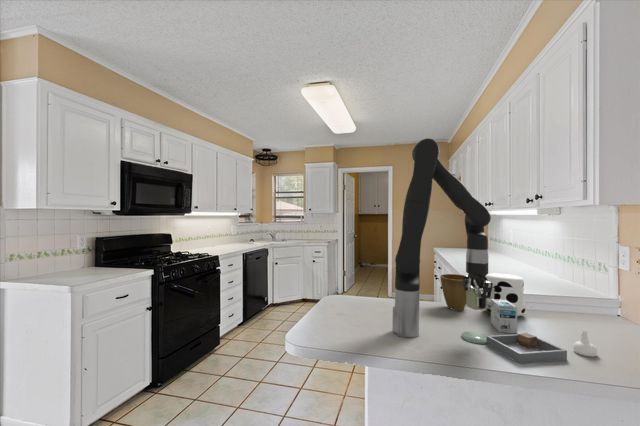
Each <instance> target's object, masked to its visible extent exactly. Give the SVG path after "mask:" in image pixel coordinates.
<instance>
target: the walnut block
mask: <svg viewBox="0 0 640 426" xmlns="http://www.w3.org/2000/svg"><path fill="white" fill-rule="evenodd" d="M517 334H518V343H517V345H518V346H520V347H522V348H525V349H528V350H533V349H537V348H538V347H537V338H538V336H536V335H534V334H531V333H528V332H521V333H517Z"/></svg>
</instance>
